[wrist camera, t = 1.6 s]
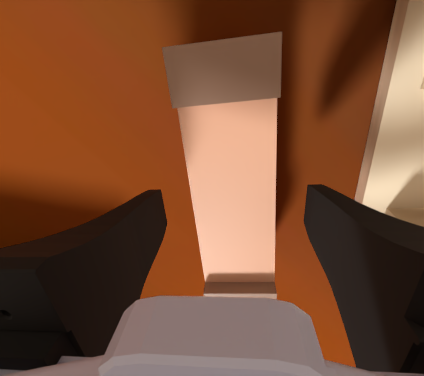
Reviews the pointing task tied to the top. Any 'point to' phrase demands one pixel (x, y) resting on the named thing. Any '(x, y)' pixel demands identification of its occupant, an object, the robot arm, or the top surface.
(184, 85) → the peach long block
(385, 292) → the robot arm
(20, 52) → the top surface
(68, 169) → the top surface
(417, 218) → the display stand
